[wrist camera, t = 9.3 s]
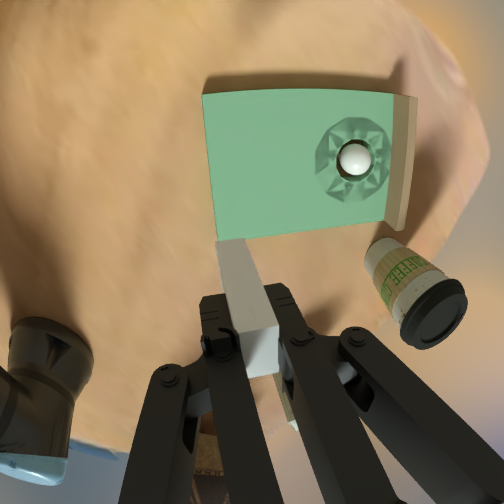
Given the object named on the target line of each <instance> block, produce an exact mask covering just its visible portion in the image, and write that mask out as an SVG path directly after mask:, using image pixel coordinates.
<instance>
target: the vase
mask: <svg viewBox="0 0 504 504" xmlns="http://www.w3.org/2000/svg"><path fill="white" fill-rule="evenodd" d="M190 504H230V500H229V495H228V491H227V486H226V481H225V476H224V471H223V466H222V461H221V456H220V451H219V445H218V440H217V436H215V435H211V434H206V433H200V432H199V439H198V446H197V453H196V460H195V467H194V474H193V482H192V489H191V497H190Z"/></svg>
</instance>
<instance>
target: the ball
mask: <svg viewBox="0 0 504 504" xmlns="http://www.w3.org/2000/svg"><path fill="white" fill-rule="evenodd" d="M340 164H341V166H342V168H343V169H344V170H345V171H346V172H347V173H349V174H352V175H360V174H363V173H365V172H366V171H367V170H368V169H369V167H370V164H371V156H370V153H369V151H368V150H367V149H366V148H365V147H364V146H362V145H360V144H349V145H347V146H346V147H344V148H343V150H342V151H341V153H340Z"/></svg>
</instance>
